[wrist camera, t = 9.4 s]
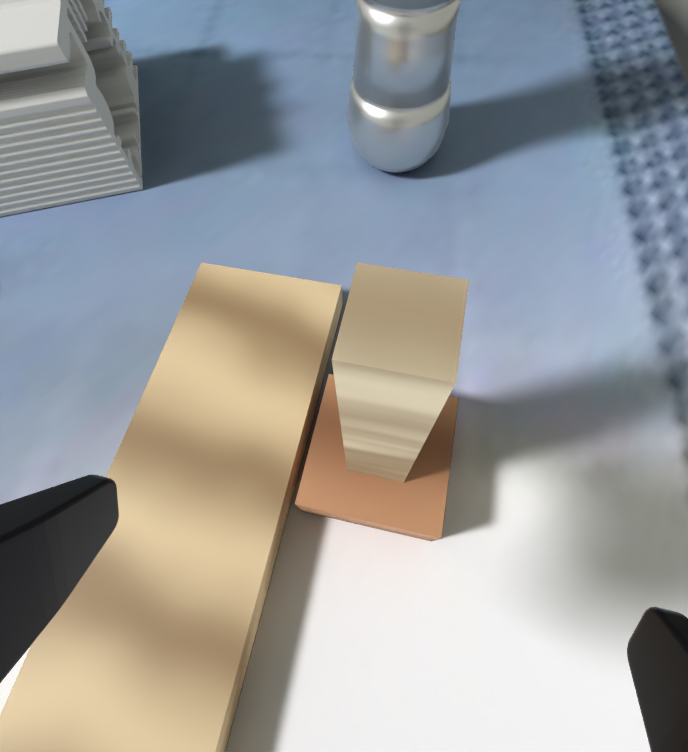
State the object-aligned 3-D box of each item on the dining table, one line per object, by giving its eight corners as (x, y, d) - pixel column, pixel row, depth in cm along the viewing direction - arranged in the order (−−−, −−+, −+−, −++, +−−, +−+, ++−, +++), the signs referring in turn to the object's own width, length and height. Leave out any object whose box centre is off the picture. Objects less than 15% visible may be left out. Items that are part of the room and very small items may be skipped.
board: (212, 799, 15) (194, 827, 14) (19, 737, 16) (-18, 756, 15) (342, 304, 24) (341, 285, 22) (211, 282, 25) (201, 262, 23)
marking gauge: (431, 541, 19) (552, 500, 7) (302, 511, 20) (213, 427, 8) (447, 416, 21) (559, 227, 9) (332, 393, 22) (298, 191, 10)
